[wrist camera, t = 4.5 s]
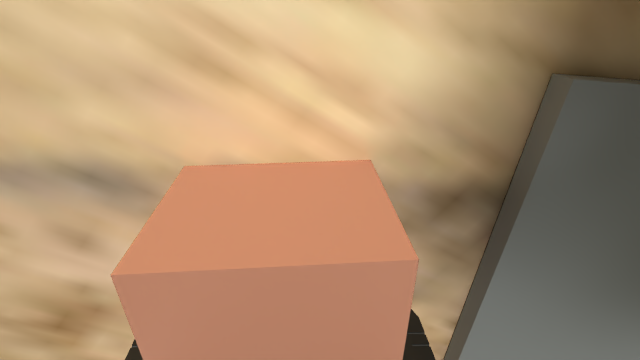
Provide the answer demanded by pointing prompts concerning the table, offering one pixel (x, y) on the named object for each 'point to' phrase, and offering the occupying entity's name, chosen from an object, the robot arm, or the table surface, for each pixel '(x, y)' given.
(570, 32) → the table surface
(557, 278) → the slate mat
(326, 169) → the card box
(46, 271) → the table surface
